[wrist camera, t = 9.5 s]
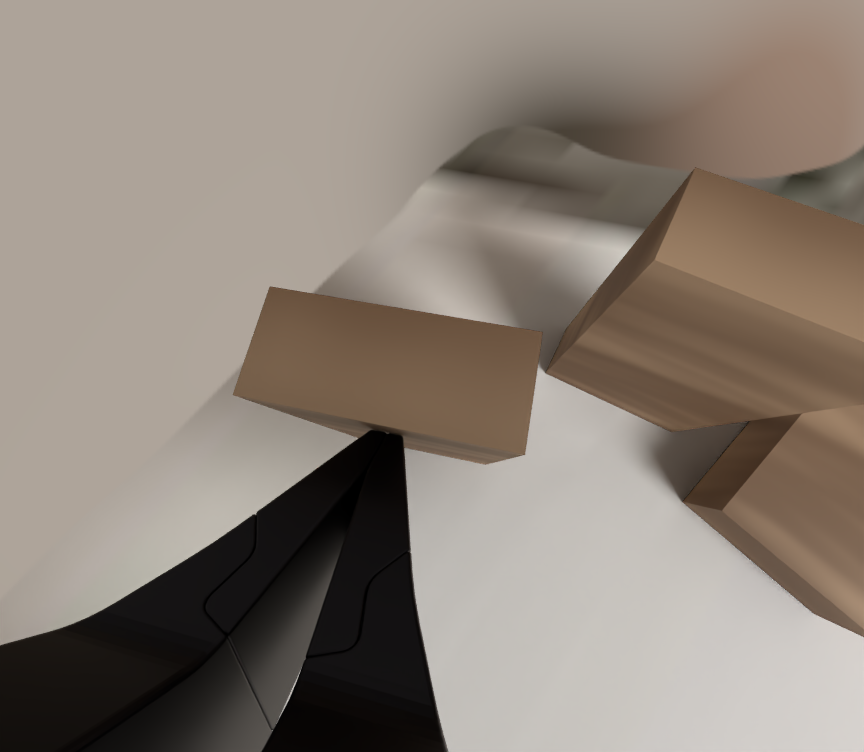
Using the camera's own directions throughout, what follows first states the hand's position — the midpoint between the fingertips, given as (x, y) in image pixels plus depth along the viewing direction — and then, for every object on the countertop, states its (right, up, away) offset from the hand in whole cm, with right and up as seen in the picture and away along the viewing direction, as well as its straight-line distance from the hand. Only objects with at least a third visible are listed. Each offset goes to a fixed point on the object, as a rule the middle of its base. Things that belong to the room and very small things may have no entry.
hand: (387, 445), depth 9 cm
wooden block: (+14, -5, +5) cm, 15 cm away
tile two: (+1, -1, +8) cm, 8 cm away
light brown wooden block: (+10, +2, +8) cm, 13 cm away
